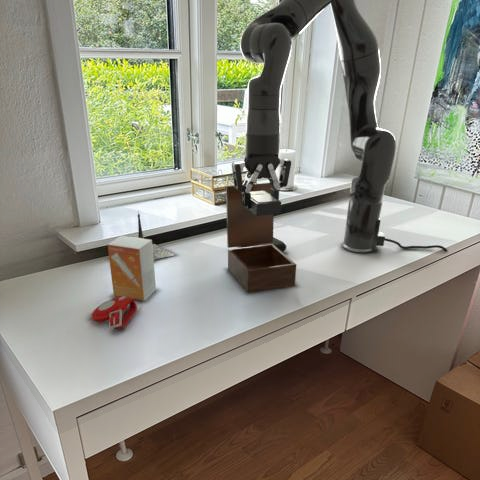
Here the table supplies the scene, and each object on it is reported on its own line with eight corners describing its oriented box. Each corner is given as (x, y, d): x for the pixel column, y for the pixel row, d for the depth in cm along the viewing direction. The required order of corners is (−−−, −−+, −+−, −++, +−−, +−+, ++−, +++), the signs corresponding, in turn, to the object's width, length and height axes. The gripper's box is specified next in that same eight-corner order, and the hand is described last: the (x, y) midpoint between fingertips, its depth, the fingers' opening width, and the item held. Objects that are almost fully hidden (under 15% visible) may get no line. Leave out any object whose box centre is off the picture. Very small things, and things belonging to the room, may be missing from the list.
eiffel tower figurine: (154, 245, 139) (150, 200, 132) (175, 255, 133) (172, 208, 126) (109, 258, 130) (102, 210, 123) (128, 269, 124) (123, 220, 117)
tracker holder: (80, 313, 101) (116, 288, 106) (90, 329, 103) (124, 304, 108) (110, 321, 92) (147, 293, 98) (120, 339, 95) (155, 311, 100)
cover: (274, 182, 118) (272, 182, 119) (226, 186, 114) (225, 185, 115) (273, 242, 125) (271, 241, 126) (228, 247, 121) (227, 247, 122)
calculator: (280, 213, 108) (281, 201, 107) (256, 216, 106) (256, 203, 105) (263, 201, 116) (264, 189, 115) (241, 204, 114) (241, 192, 113)
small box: (113, 296, 110) (106, 244, 104) (126, 285, 115) (121, 234, 109) (144, 301, 108) (139, 248, 102) (156, 290, 113) (152, 238, 107)
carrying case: (230, 244, 141) (259, 260, 130) (230, 234, 139) (259, 250, 129) (259, 237, 146) (289, 252, 135) (259, 228, 144) (289, 242, 134)
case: (294, 285, 117) (296, 264, 114) (247, 293, 113) (248, 271, 110) (271, 263, 128) (272, 243, 126) (227, 269, 125) (227, 249, 122)
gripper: (285, 127, 108) (281, 199, 116) (226, 129, 103) (226, 204, 112) (300, 131, 102) (294, 208, 110) (237, 134, 97) (237, 214, 106)
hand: (260, 206), depth 111 cm, fingers closed on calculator, 6 cm apart
